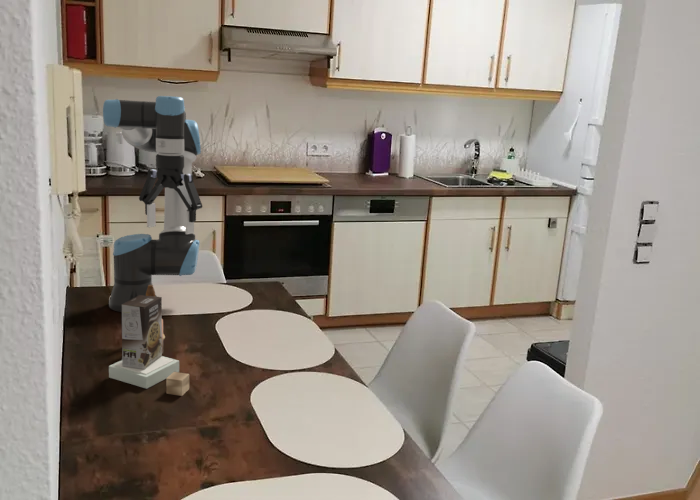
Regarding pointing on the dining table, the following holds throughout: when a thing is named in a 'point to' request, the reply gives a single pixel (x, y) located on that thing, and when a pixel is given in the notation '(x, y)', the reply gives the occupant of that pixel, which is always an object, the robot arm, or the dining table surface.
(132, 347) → the coffee box
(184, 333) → the dining table surface
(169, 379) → the beech block
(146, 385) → the podium
